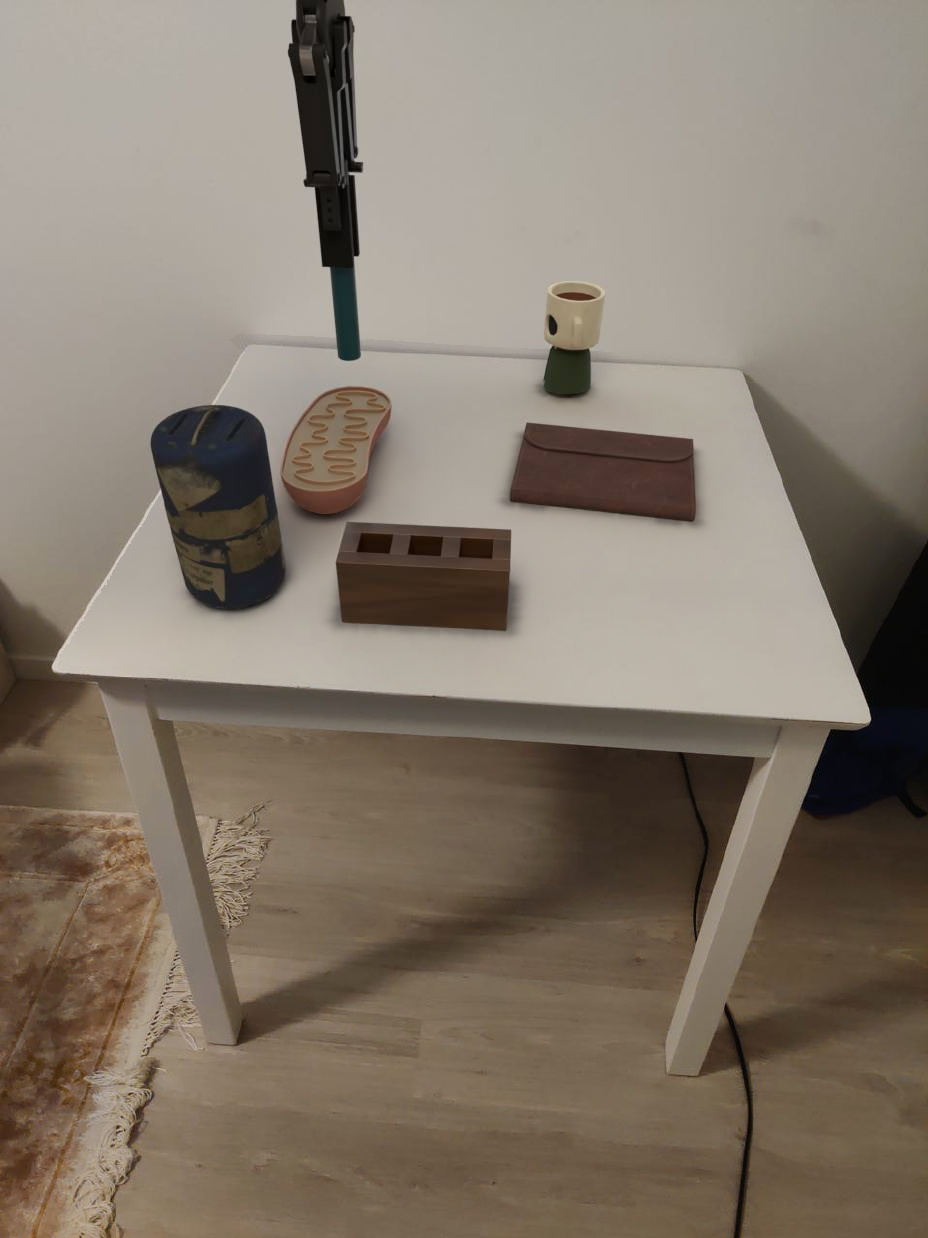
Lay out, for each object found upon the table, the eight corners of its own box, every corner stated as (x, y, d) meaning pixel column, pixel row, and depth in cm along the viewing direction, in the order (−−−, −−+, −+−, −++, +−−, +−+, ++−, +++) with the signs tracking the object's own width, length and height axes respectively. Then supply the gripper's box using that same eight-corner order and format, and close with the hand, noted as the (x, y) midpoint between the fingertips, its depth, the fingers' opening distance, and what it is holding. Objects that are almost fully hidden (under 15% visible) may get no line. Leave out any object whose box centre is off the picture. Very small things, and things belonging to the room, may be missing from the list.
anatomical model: (362, 534, 88) (358, 493, 85) (268, 527, 89) (261, 486, 86) (399, 425, 105) (397, 388, 102) (320, 420, 106) (316, 382, 103)
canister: (166, 600, 80) (117, 429, 68) (223, 545, 87) (188, 379, 75) (253, 627, 78) (218, 454, 66) (306, 567, 84) (283, 400, 72)
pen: (344, 363, 81) (327, 165, 69) (333, 354, 82) (315, 158, 71) (365, 357, 81) (351, 161, 70) (354, 349, 83) (339, 155, 71)
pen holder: (506, 630, 78) (510, 570, 73) (341, 622, 78) (335, 562, 74) (507, 588, 82) (511, 529, 78) (352, 580, 83) (346, 521, 78)
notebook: (693, 523, 91) (696, 507, 90) (509, 502, 93) (510, 487, 92) (689, 451, 102) (693, 436, 101) (525, 434, 104) (526, 420, 103)
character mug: (537, 369, 118) (544, 274, 109) (588, 370, 118) (600, 275, 109) (542, 408, 109) (550, 307, 101) (597, 408, 109) (610, 308, 101)
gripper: (347, -76, 54) (369, 294, 70) (382, -88, 65) (394, 233, 81) (230, -79, 55) (279, 290, 70) (285, -90, 66) (316, 230, 82)
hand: (341, 259), depth 76 cm, fingers closed on pen, 2 cm apart
